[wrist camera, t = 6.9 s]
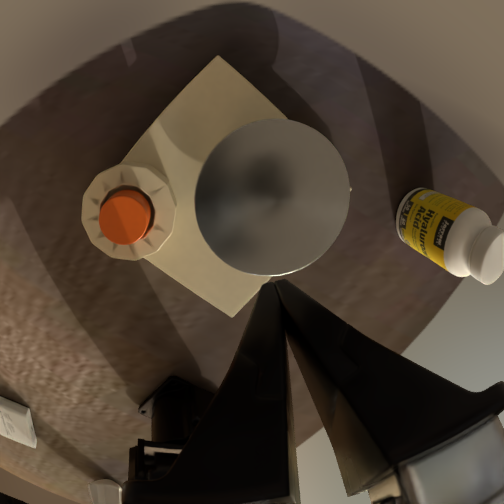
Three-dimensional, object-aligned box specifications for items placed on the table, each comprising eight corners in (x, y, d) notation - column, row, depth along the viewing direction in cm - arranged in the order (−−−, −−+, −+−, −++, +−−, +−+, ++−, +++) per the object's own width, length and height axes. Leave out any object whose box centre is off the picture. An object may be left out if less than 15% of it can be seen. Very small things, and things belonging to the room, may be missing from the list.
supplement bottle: (393, 190, 23) (483, 228, 14) (436, 183, 24) (520, 214, 15) (392, 250, 25) (469, 304, 17) (434, 237, 26) (508, 281, 17)
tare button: (132, 244, 18) (128, 255, 16) (97, 216, 17) (89, 225, 15) (160, 208, 17) (158, 216, 16) (123, 179, 16) (117, 184, 15)
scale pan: (275, 298, 21) (278, 302, 20) (159, 210, 17) (159, 212, 16) (371, 194, 20) (375, 196, 19) (272, 85, 16) (275, 84, 15)
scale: (225, 314, 24) (231, 337, 21) (79, 210, 19) (65, 223, 16) (344, 185, 22) (365, 194, 19) (210, 53, 17) (214, 41, 14)
